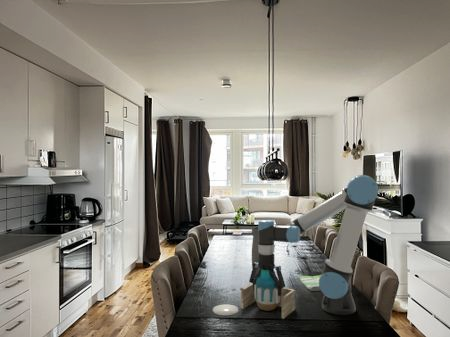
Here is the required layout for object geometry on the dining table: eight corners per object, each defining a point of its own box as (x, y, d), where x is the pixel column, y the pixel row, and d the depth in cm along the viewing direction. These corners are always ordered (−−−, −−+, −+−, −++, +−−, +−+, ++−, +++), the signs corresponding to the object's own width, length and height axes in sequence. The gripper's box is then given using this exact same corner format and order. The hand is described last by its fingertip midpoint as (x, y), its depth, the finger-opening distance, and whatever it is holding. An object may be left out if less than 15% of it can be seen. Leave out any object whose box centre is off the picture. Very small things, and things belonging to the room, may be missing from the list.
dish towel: (309, 291, 189) (309, 285, 189) (297, 279, 212) (297, 273, 212) (340, 290, 190) (340, 284, 190) (325, 278, 213) (324, 272, 213)
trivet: (243, 308, 165) (243, 307, 165) (229, 317, 155) (229, 316, 155) (222, 303, 171) (222, 302, 171) (207, 312, 162) (207, 310, 162)
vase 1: (257, 272, 226) (257, 226, 227) (274, 275, 219) (273, 227, 220) (247, 276, 216) (247, 228, 217) (265, 280, 209) (264, 230, 210)
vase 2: (255, 305, 169) (254, 265, 170) (277, 305, 169) (276, 265, 169) (256, 313, 159) (256, 271, 159) (279, 314, 158) (279, 271, 159)
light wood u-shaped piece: (295, 309, 164) (295, 288, 164) (283, 319, 152) (282, 296, 153) (254, 300, 176) (254, 280, 176) (240, 308, 165) (240, 288, 165)
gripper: (292, 254, 161) (293, 302, 160) (249, 249, 174) (249, 293, 173) (285, 257, 155) (286, 307, 154) (241, 251, 168) (242, 297, 167)
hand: (267, 300), depth 164 cm, fingers closed on vase 2, 10 cm apart
